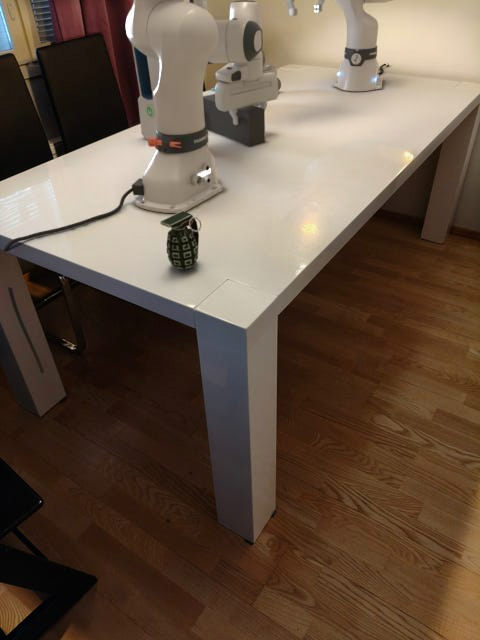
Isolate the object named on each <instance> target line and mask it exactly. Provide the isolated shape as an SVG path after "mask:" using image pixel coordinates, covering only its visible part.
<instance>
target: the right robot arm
mask: <svg viewBox="0 0 480 640" xmlns="http://www.w3.org/2000/svg"><path fill="white" fill-rule="evenodd" d="M325 1H326V0H317V3H316V4H315V5H314V13H323V6H324V3H325ZM333 1H334V2H335V3H336V4H337V5H338V6H339V8H341V10H342V12H343V15H344V17H345V21H346V46H345V47H344V51H343V52H344V53H343V58H344V59H343V61H342V62H341V63H339V69H338V72H336V76H337V81H336V82H335V83H334V84H333V87H335V88H337V89H340V90H342V91H347V92H367V91H368V92H369V91H373V90H381V89H382V88H383V82H384V81H383V80H384V79H383V77H380V76H381V74H383V73H384V68H383V67H388V68H389V67H390V65H389V63H387V64H388V65H386V64H385V63H383V64H381V66H380V65H379V63H378V59H377V57H378V44H377V43H378V34H379V22H378V20H377V19H376V18H375V17H374V16H373V15H371V14H370V13H367V12H366V11H365V9H364V4H385V3H390V2H392V1H394V0H333ZM294 2H296V0H286V2H285V3H286V5H287V7H288V9H289V16H290V17H297V16H298V8H297V7H296V5H295V3H294ZM379 70H380V71H379Z"/></svg>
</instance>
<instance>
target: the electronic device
mask: <svg viewBox="0 0 480 640" xmlns="http://www.w3.org/2000/svg"><path fill="white" fill-rule="evenodd" d="M131 47H132V54H133V60H134V61H133V62H134V65H135V72H136V79H137V86H138V90H139V97H138V98H137V103H138V113H139V123H140V129H141V130H140V131H141V135H142V136H143V138H144V139H146V140H148V139H149V138H150V137H152V138H156V130H157V129H158V128H157V121H156V114H155V108H154V101H153V93H154V90H155V88H156V87H157V86H158V82H159V73H160V62H159V59H155V58H151V57H148V56H146V55H145V54H143V53H142V52H140V51H139V50H138V49H137V48H135V47H134V46H133V45H132V44H131Z"/></svg>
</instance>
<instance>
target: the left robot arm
mask: <svg viewBox="0 0 480 640" xmlns="http://www.w3.org/2000/svg"><path fill="white" fill-rule="evenodd" d="M228 17H229V18H228V19H215V18H214V16H213V15H212V14H211V13H210V12H209V11H208V0H187V1H185V0H133V3H132V6H131V8H130V9H129V11H128V12H127V16H126V20H125V31H126V36H127V38H128V41H129V42H130V44H131V46H132V45H133V46H134V47H135V48H137V49H138V50H139V51H140V52H142V53H143V54H145V55H146V56H148V57H151V58H155V59H159V62H160V73H159V82H158V86H157V87H156V88H155V90H154V93H153V101H154V108H155V114H156V121H157V128H158V129H157V130H156V138H152V137H150V138H149V139H147V146H149V147H151V148H152V147H154V148H155V151H154V153H153V155H152V157H151V159H150V162H149V163H148V165H147V167H146V169H145V172H144V173H143V176H142V178H138V179H137V180H136V181H134V182H133V183H132V184H131V188H129V189H128V190H127V191H125V193H124V194H123V195H122V196H121V198H120V201H119V204H118V206H117V207H116V208H114V209H112V210H111V211H109V212H106V213H102V214H98V215H95V216H92V217H90V218H86V219H84V220H80V221H78V222H74V223H71V224H68V225H64V226H60V227H56V228H51V229H47V230H43V231H38V232H35V233H32V234H28V235H23V236H19V237H16V238H13V239H11V240H10V241H8V242H7V243H6V244H5V246H4V248H3V250H2V252H3V253H5V252H8V251H9V250H10V248H11V246H13V245H14V244H16V243H18V242H23V241H27V240H30V239H33V238H37V237H42V236H46V235H49V234H55V233H59V232H63V231H66V230H70V229H73V228H76V227H79V226H80V227H81V226H83V225H86V224H89V223H91V222H94V221H97V220H100V219H103V218H107V217H110V216H113V215H114V214H116V213H118V212H119V211H120V210H121V209H122V207H123V206H124V202H125V200H126V198H127V197H128V196H129V195H130V194H132V195H133V196H137V197H135V199H134V205H135V206H137V207H138V208H140V209H142V210H143V209H144V210H147V211H151V212H157V213H164V214H177V213H179V212H181V211H184V212H187V211H189V210H190V209H193V208H194V207H196V206H198V205H199V204H201V203H203V202H205V201H207V200H208V199H210V198H212V197H214V196H215V195H217V194H219V193H220V192H222V191H223V185H222V184H220V183H219V180H218V174H217V168H216V163H215V156H214V155H213V153H212V152H211V149H210V147H209V145H208V143H209V130H208V129H207V126H206V125H205V118H204V105H203V92H204V82H205V76H206V70H207V67H208V65H214V64H226V65H224V66H223V67H220V69H218V70H216V72H215V79H216V80H217V81H216V83H215V85H214V86H215V87H214V88H215V103H216V107H217V108H218V110H220V111H223V112H226V111H229V113H230V115H231V116H232V118H233V124H234V125H238V124H240V123H241V122H240V118H238V117H237V115H236V113H237V109H238V108H242V107H246V106H251V105H254V106H256V105H259V107H260V108H263V109H264V110H265V111H266V109H267V106H268V102H271V101H275V100H276V101H277V99H278V97H279V95H280V94H279V93H280V92H279V91H280V90H279V91H278V81H277V78H278V77H277V76H278V74H277V73H278V70H277V68H276V66H274V65H273V64H268V65H264V66H263V56H262V51H261V50H263V45H264V44H263V38H264V37H263V24H262V23H263V22H262V15H261V8H260V4H259V3H258V1H255V0H234V1H232V2H231V3H230V5H229V16H228ZM7 290H8V294H9V295H8V296H9V298H10V302H11V304H12V307H13V311H14V313H15V316H16V318H17V322H18V323H19V326H20V329H21V330H22V332H23V335H24V337H25V339H26V341H27V343H28V346H29V348H30V350H31V352H32V354H33V356H34V359H35V361H36V364H37V366H38V367H37V368H38V369H39V372H40V373H41V374H44V373H45V370H44V368H43V365H42V363H41V360H40V357H39V355H38V353H37V350H36V348H35V346H34V343H33V341H32V339H31V337H30V335H29V333H28V330H27V328H26V326H25V323H24V321H23V319H22V316H21V314H20V311H19V308H18V305H17V302H16V298H15V295H14V290H13V287H9V286H7Z"/></svg>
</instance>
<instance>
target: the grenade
mask: <svg viewBox="0 0 480 640" xmlns="http://www.w3.org/2000/svg"><path fill="white" fill-rule="evenodd" d="M198 222H199V226H198ZM159 224H160V225H162V226H164V227H166V228H169V230H168V231H167V236H166V254H167V259H168V261H169V263H170V265H171V266H172V267H174V268H176V269H178V270H181V271H186V270H189V269H192V267H194V266H195V265H196V264H197V262H198V261H197V260H198V259H199V243H200V241H199V240H200V233H199V232H200V231H201V228H202V221H201V220H200V219H199V218H198V217H197V216H194V215H193V214H192V213H189V212H187V211H185V212H184V211H181V212H179V213H174V214H172V215H170V216H169V217H166V218H165V219H162V220H160V222H159ZM198 227H199V228H198Z"/></svg>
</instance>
